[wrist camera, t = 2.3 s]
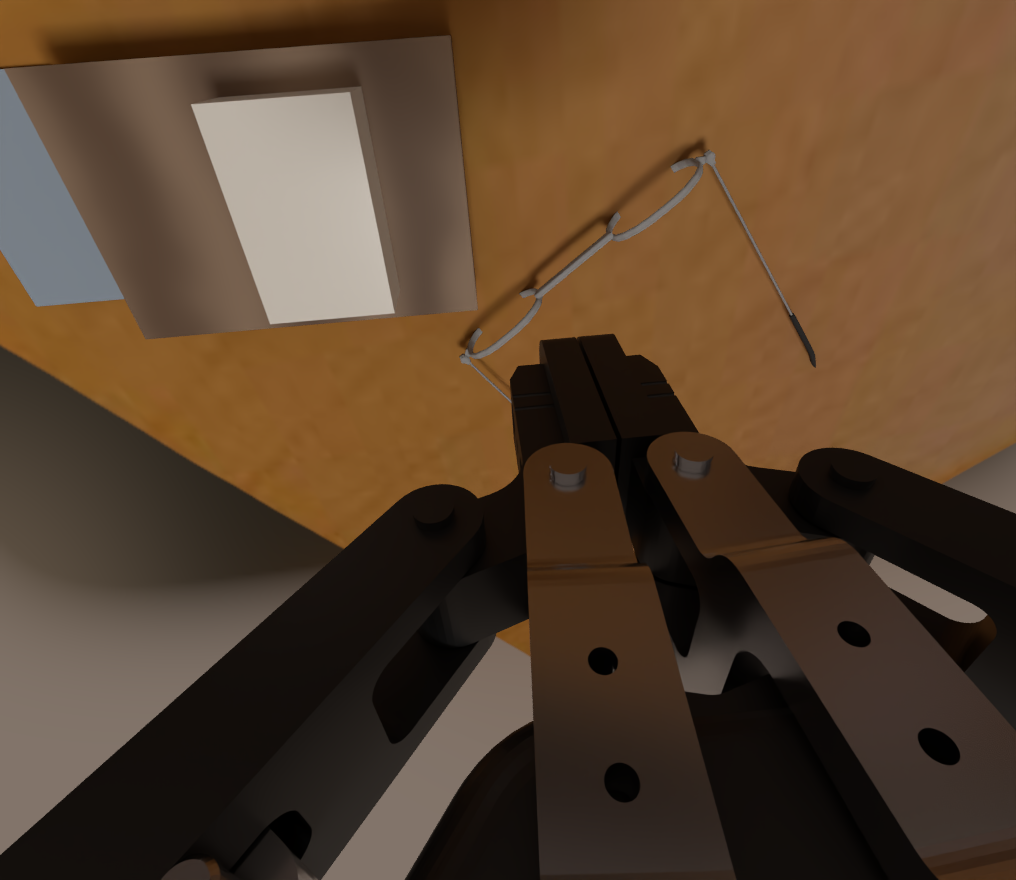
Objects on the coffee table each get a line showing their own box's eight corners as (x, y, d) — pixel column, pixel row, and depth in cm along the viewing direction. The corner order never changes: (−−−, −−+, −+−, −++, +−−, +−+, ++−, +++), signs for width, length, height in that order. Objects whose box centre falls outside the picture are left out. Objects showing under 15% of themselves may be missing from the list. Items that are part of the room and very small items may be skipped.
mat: (51, 65, 24) (47, 65, 24) (160, 293, 31) (158, 295, 31) (-104, 76, 24) (-110, 77, 24) (39, 304, 31) (36, 306, 31)
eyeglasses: (693, 135, 29) (724, 149, 26) (811, 358, 39) (844, 387, 36) (453, 339, 35) (454, 370, 32) (608, 486, 45) (620, 521, 42)
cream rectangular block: (361, 86, 23) (349, 92, 20) (399, 289, 28) (394, 313, 26) (219, 97, 22) (190, 104, 20) (285, 299, 28) (270, 324, 25)
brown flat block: (450, 35, 25) (450, 35, 22) (475, 282, 32) (477, 309, 29) (62, 64, 24) (3, 68, 21) (176, 309, 32) (145, 339, 29)
